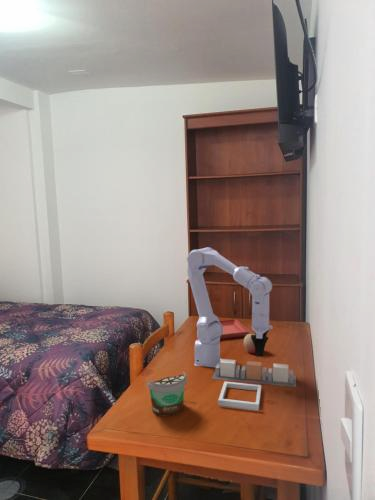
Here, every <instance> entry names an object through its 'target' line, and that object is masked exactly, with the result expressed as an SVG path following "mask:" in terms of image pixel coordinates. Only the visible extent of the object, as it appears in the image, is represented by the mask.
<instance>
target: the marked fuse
mask: <svg viewBox="0 0 375 500" xmlns="http://www.w3.org/2000/svg"><path fill="white" fill-rule="evenodd" d="M262 363H263V362H261V361H251V360H250V361H249V360H247V361H246V363H245V366H246V378H247V379H257V380H261V373H262V369H263V367H262V366H263V365H262Z"/></svg>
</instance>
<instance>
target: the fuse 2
mask: <svg viewBox="0 0 375 500" xmlns="http://www.w3.org/2000/svg"><path fill="white" fill-rule="evenodd" d="M272 366H273V367H272V374H273V381H277V382H287V383H288V375H289V370H290V369H289V364H286V363H285V364H283V363H274V362H273V364H272Z"/></svg>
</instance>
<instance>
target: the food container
mask: <svg viewBox="0 0 375 500" xmlns="http://www.w3.org/2000/svg"><path fill="white" fill-rule="evenodd" d="M187 383H188V381H187V376H186V374H185V372H184V371H182V374H179V375H176V376H175V375H174V376H167V377H163V378H161V379H159V380H156V381H151V380H149V379H148V382H147V386H146V388H148V389H149V393H150V394H149V396H150V400H151V401H150V402H151V409H152V412H153V413H154V414H156V415H158V416H161V417H170V416H171V417H172V416H174V415H178V414H179V413H181V412H182V411H183V407H184V397H185V395H184V394H185V387H186V385H187Z"/></svg>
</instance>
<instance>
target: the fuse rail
mask: <svg viewBox="0 0 375 500" xmlns="http://www.w3.org/2000/svg"><path fill="white" fill-rule="evenodd" d="M296 376H297V375H294V369H289V370H288V383H287V382H277V381H273V367H269V368H268V372H267V367H262V370H261V380H257V379H247V378H246V365H242V366H241V365H239V364H238V365H236V374H235V377H227V376H220V364H219V363H217V365H216V367H215V370H214V372H213V374H212V377H211V379H212V380H213V379H214V380H220V381H221V380H224V381H230V382H240V383H250V384H259V385H262V384H263V385H269V386H270V385H271V386H281V387H289V388H290V387H292V388H297V380H296V379H297V378H296Z"/></svg>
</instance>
